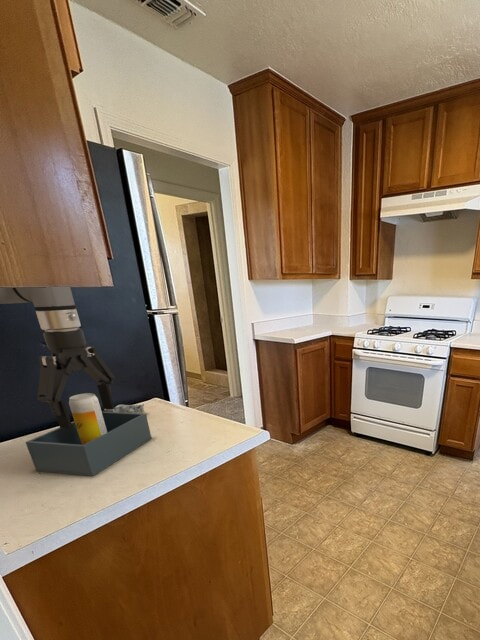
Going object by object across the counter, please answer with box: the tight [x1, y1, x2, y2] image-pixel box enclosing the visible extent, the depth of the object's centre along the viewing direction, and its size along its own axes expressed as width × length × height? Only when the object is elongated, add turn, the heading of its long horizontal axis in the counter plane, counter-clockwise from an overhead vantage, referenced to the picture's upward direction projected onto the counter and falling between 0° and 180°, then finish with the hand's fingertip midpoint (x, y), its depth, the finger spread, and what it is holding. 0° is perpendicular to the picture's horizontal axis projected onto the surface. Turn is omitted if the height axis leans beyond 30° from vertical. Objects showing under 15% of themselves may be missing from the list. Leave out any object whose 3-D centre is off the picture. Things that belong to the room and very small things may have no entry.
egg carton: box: [103, 403, 146, 414], centre depth 117 cm, size 11×8×4 cm
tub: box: [25, 411, 153, 477], centre depth 91 cm, size 16×22×8 cm
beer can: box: [68, 392, 107, 445], centre depth 89 cm, size 6×6×15 cm
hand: (89, 417), depth 88 cm, fingers open, 13 cm apart
